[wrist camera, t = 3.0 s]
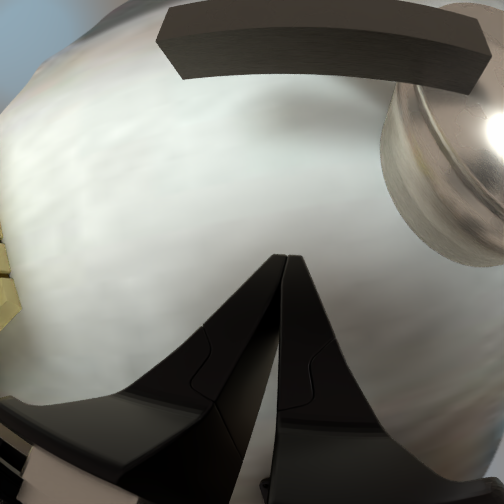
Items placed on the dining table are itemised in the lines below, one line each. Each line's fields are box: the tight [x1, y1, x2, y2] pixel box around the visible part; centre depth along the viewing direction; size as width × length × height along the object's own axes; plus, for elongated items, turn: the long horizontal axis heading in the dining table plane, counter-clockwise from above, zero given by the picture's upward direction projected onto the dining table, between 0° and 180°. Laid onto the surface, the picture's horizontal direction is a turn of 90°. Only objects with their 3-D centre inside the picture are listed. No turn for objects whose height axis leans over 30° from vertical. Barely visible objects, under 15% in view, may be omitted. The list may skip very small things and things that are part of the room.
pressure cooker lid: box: [156, 0, 504, 222], centre depth 11 cm, size 27×15×4 cm, turn 83°
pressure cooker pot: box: [380, 82, 504, 267], centre depth 17 cm, size 31×16×9 cm, turn 53°
